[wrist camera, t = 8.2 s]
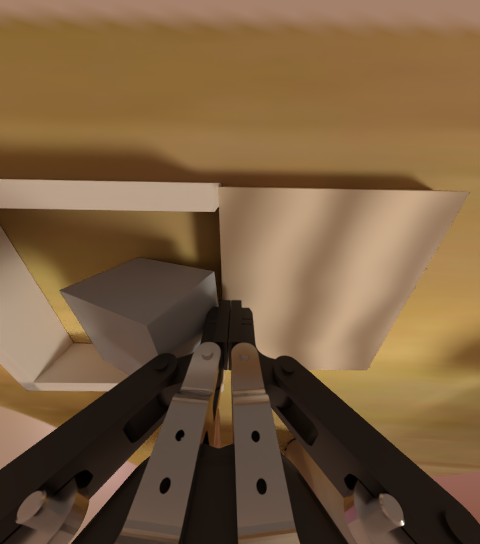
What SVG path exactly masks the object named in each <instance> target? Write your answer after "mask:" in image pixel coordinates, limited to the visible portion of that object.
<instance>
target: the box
mask: <svg viewBox="0 0 480 544" xmlns="http://www.w3.org/2000/svg"><path fill="white" fill-rule="evenodd" d="M221 186H222V184H221V183H200V182H147V181H93V180H40V179H0V208H19V209H77V210H135V211H193V212H215V211H216V209H217V208H218V207H219V194H218V187H221ZM0 364H1V365H2V366H3V367H4V368H5V369H6V370H7V371H8V372H9V373H10V374H11V375H12V376H13V377H14V378H15V379H16V380H17V381H18V382H19V383H20V384H21V385H22V386H23V387H24V388H25V389H26V390H27V391H109V390H110V389H112V388H113V387H115V386H116V385H117V384H119V383H120V382H121V381H123V380H124V379H126V378H127V377H128V376H129V375H127V374H126V373H124V372H122V371H121V370H119V369H117V368H116V367H114V366H112V365H111V364H109V363H107V362H106V361H104V360H103V359H102V357H101V356H100V354H99V352H98V351H97V349H96V348H95V346H94V345H93V343H73V341H72V340H71V338H70V336H69V335H68V333H67V332H66V330H65V328H64V327H63V325H62V324H61V322H60V320H59V319H58V317H57V316H56V314H55V312H54V311H53V309H52V308H51V306H50V304H49V303H48V301H47V300H46V298H45V296H44V295H43V293H42V292H41V290H40V288H39V287H38V285H37V284H36V282H35V280H34V279H33V277H32V276H31V274H30V272H29V271H28V269H27V268H26V266H25V264H24V263H23V261H22V260H21V258H20V256H19V255H18V253H17V252H16V250H15V248H14V247H13V245H12V244H11V242H10V240H9V239H8V237H7V236H6V234H5V232H4V231H3V229H2V228H1V226H0ZM224 378H225V370H224V372H223V381H222V387H221V392H223V391H224Z"/></svg>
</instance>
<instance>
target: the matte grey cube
mask: <svg viewBox="0 0 480 544" xmlns="http://www.w3.org/2000/svg"><path fill="white" fill-rule="evenodd" d="M59 291H60V293H61V294H62V296H63V297H64V299H65V301H66V302H67V304H68V305H69V307H70V308H71V310H72V312H73V313H74V315H75V316H76V318H77V319H78V321H79V323H80V324H81V326H82V327H83V329H84V330H85V332H86V334H87V335H88V337H89V338H90V340H91V341H92V343H93V345H94V346H95V348H96V349H97V351H98V352H99V354H100V356H101V357H102V359H103V360H104V361H106V362H107V363H109V364H111V365H112V366H114V367H116V368H117V369H119V370H121V371H122V372H124V373H126V374H127V375H129V376H130V375H131V374H132V373H134V372H135V371H137V370H138V369H139V368H141V367H142V366H143V365H145V364H146V363H148V362H149V361H150V360H152V359H153V358H154V357H156V356H158V355H160V354H163V353H171V354H173V355H175V357H176V358H179V357H183V356H186V355H189V354H191V353H193V352H194V351H195V349H196V348H197V347H198V346H199V345H200V343H201V339H202V335H203V331H204V326H205V322H206V319H207V314H208V312H209V310H210V309H211V308H212V307H219V305H218V297H217V289H216V281H215V273H214V271H210V270H204V269H199V268H194V267H188V266H183V265H178V264H172V263H167V262H162V261H156V260H151V259H145V258H140V257H138V258H136V259H133V260H131V261H129V262H126V263H124V264H121V265H119V266H117V267H114V268H112V269H109V270H107V271H105V272H102V273H100V274H97V275H95V276H93V277H90V278H88V279H85V280H83V281H81V282H78V283H76V284H73V285H71V286H69V287H66V288H64V289H61V290H59Z"/></svg>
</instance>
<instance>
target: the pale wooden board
mask: <svg viewBox="0 0 480 544" xmlns="http://www.w3.org/2000/svg"><path fill="white" fill-rule="evenodd" d="M469 193H470V192H464V191H440V190H394V189H340V188H286V187H232V186H221V187H218V194H219V220H220V247H221V273H222V300H242V308H250V310H251V311H252V313H253V322H254V333H255V343H256V347H257V349H258V350H259V352H260V353H262V354H263V355H265V356H267V357H270V358H273V359H276V358H277V357H279V356H283V355H286V356H290V357H292V358H294V359H295V360H297V361H298V362H299V363H300V364H301V365H302V366H304V367H305V368H306V369H307V370H367V369H368V368H369V366H370V364H371V362H372V361H373V359H374V357H375V355H376V354H377V352H378V350H379V349H380V347H381V345H382V343H383V342H384V340H385V338H386V336H387V335H388V333H389V331H390V330H391V328H392V326H393V324H394V323H395V321H396V319H397V317H398V316H399V314H400V312H401V311H402V309H403V307H404V305H405V304H406V302H407V300H408V298H409V297H410V295H411V293H412V292H413V290H414V288H415V286H416V285H417V283H418V281H419V280H420V278H421V276H422V274H423V273H424V271H425V269H426V267H427V266H428V264H429V262H430V261H431V259H432V257H433V255H434V254H435V252H436V250H437V248H438V247H439V245H440V243H441V242H442V240H443V238H444V236H445V235H446V233H447V231H448V229H449V228H450V226H451V224H452V223H453V221H454V219H455V217H456V216H457V214H458V212H459V210H460V209H461V207H462V205H463V204H464V202H465V200H466V198H467V197H468V195H469ZM228 369H229V366H228Z"/></svg>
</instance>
